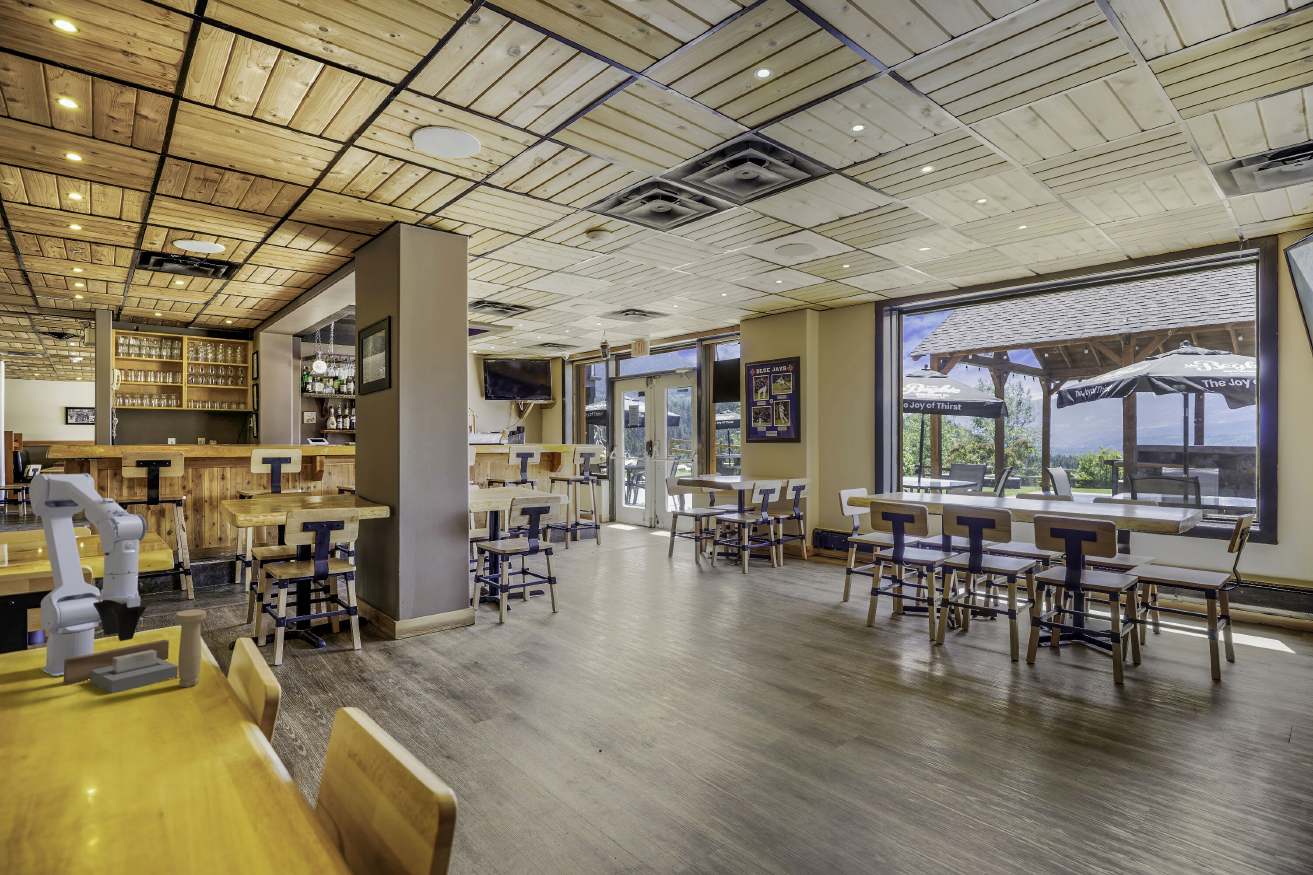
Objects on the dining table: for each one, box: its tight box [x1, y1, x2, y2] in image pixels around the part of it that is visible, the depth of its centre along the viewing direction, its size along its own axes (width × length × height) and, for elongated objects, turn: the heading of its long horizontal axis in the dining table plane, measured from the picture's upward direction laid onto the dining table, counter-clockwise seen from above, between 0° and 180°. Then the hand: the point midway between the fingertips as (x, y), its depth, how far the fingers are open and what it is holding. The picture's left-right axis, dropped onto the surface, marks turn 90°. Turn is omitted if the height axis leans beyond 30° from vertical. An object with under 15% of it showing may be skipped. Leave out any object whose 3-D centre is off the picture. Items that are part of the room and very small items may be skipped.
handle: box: [175, 609, 207, 688], centre depth 137 cm, size 5×6×15 cm
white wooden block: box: [112, 650, 157, 675], centre depth 140 cm, size 2×7×6 cm, turn 147°
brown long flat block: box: [63, 639, 170, 686], centre depth 144 cm, size 2×18×5 cm, turn 147°
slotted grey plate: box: [89, 657, 179, 694], centre depth 140 cm, size 12×11×2 cm
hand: (118, 636), depth 139 cm, fingers open, 7 cm apart
